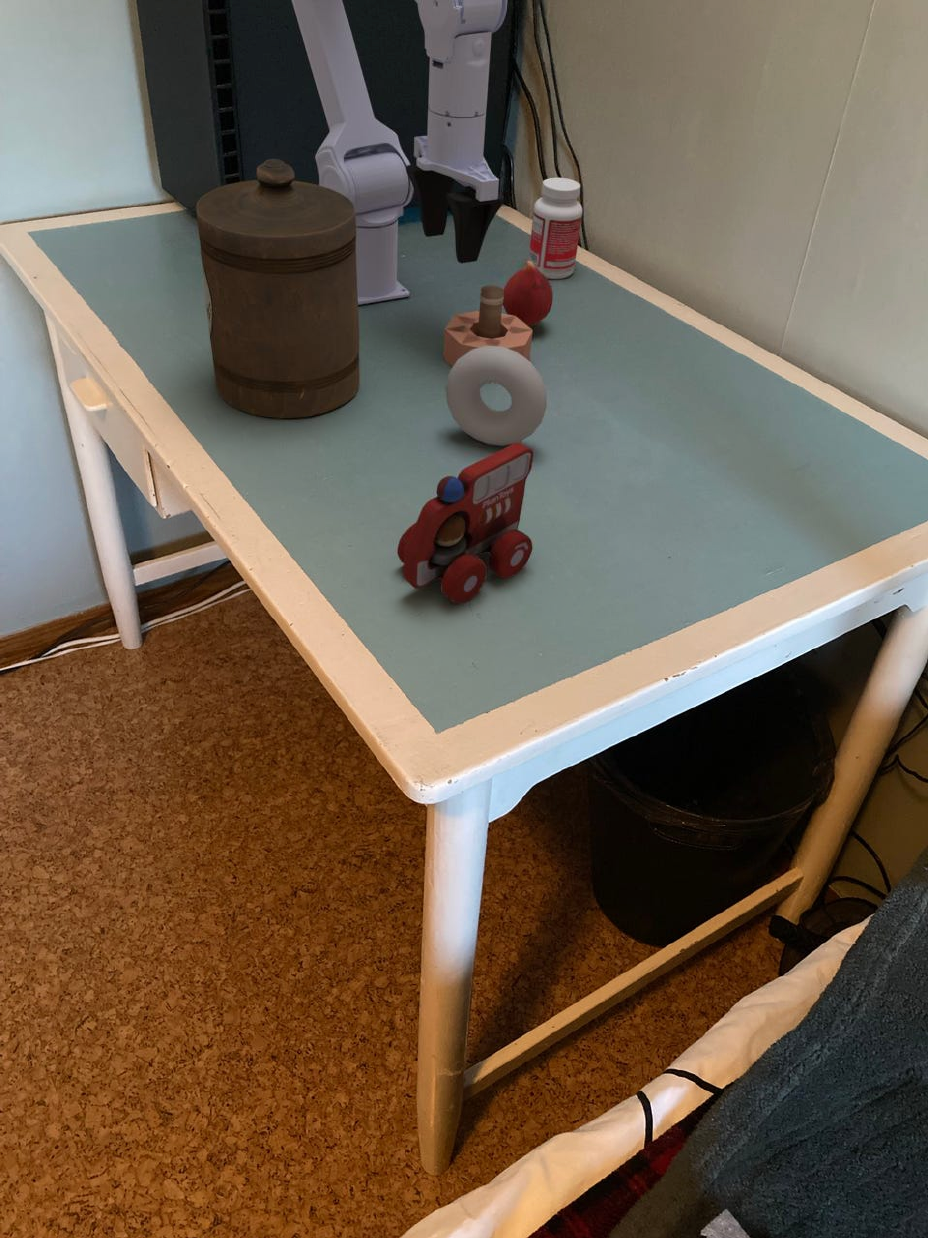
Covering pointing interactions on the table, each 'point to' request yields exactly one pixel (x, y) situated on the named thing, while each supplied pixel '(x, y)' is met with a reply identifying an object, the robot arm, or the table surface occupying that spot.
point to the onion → (528, 295)
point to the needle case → (490, 311)
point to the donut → (509, 374)
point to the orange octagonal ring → (465, 331)
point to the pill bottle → (556, 228)
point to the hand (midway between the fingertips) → (450, 247)
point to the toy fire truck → (471, 526)
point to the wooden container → (281, 293)
